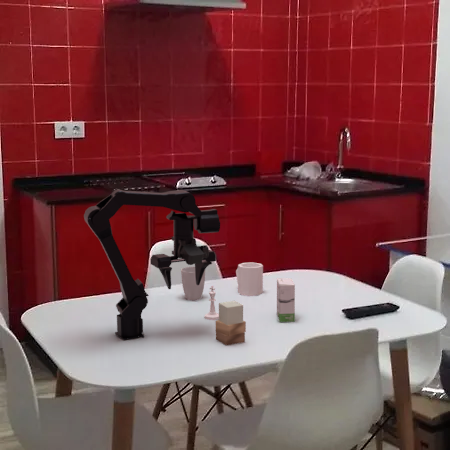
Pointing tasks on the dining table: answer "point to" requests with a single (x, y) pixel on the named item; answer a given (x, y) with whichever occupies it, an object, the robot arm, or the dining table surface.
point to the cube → (231, 312)
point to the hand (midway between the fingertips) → (183, 287)
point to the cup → (192, 284)
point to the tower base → (230, 338)
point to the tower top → (230, 328)
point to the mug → (250, 279)
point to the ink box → (285, 300)
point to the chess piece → (212, 307)
